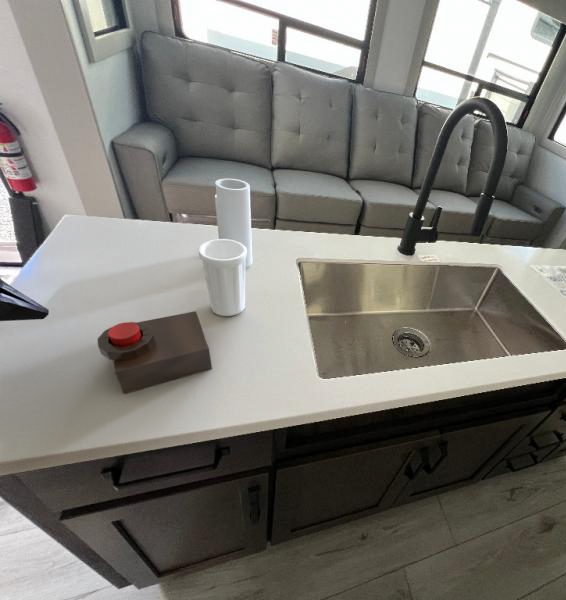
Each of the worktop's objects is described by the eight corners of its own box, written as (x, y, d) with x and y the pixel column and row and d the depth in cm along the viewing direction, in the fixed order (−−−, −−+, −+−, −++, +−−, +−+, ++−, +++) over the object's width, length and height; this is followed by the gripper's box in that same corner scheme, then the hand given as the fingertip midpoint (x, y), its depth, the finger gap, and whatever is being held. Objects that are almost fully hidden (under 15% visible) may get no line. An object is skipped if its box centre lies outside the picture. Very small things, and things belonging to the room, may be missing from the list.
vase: (253, 268, 82) (251, 191, 70) (221, 269, 79) (212, 188, 67) (250, 245, 89) (247, 172, 78) (220, 245, 86) (212, 169, 75)
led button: (112, 349, 48) (108, 341, 47) (110, 333, 50) (107, 325, 49) (142, 343, 50) (140, 334, 49) (139, 328, 52) (137, 319, 51)
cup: (210, 295, 71) (202, 236, 63) (251, 296, 74) (248, 240, 65) (203, 320, 65) (193, 259, 57) (247, 320, 68) (244, 262, 59)
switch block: (113, 397, 49) (99, 366, 45) (109, 351, 55) (96, 320, 51) (212, 368, 57) (207, 340, 53) (199, 331, 63) (194, 303, 59)
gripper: (-149, 238, 24) (95, 316, 37) (-83, 152, 35) (89, 236, 48) (-260, 342, 24) (23, 384, 37) (-160, 225, 35) (33, 289, 48)
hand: (46, 314), depth 42 cm, fingers closed
